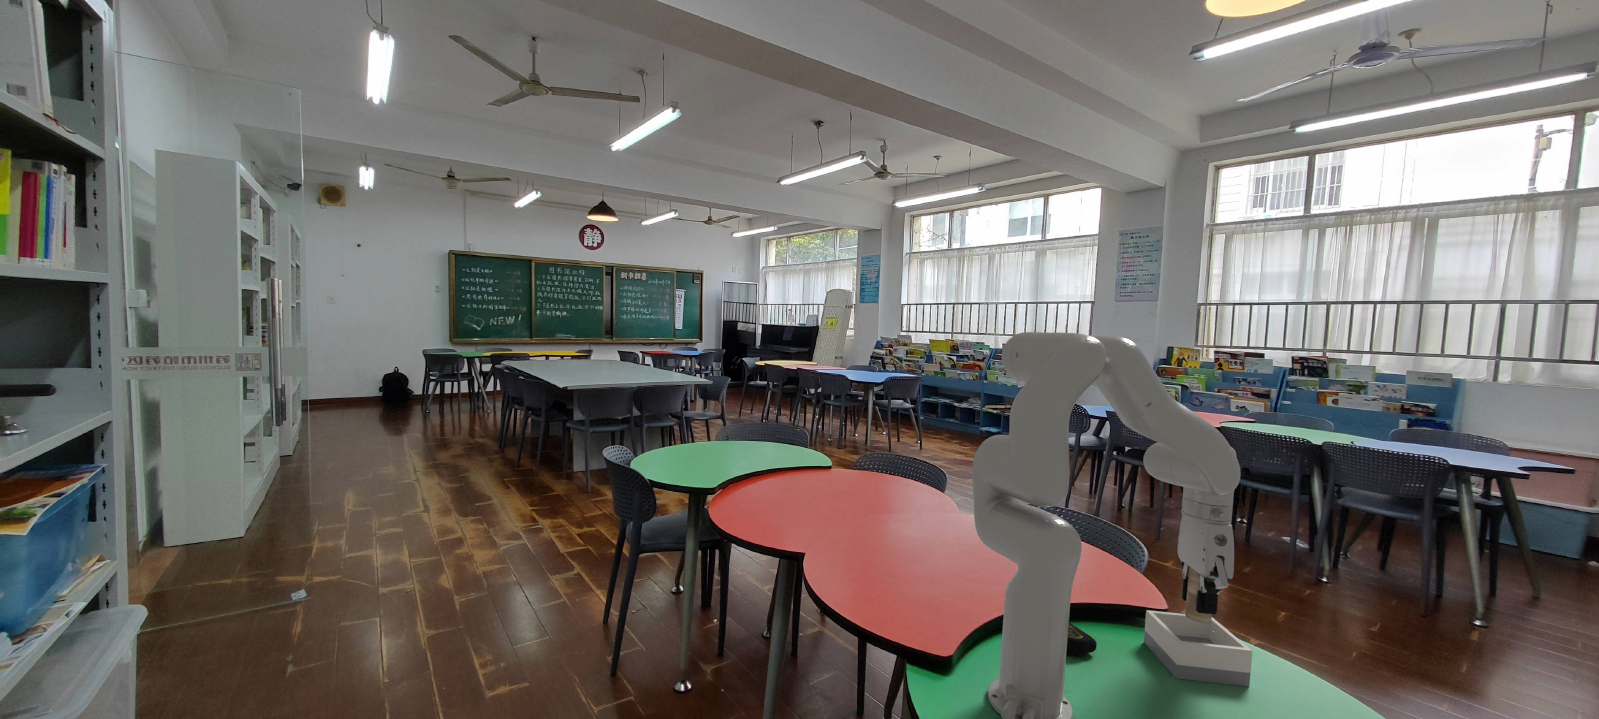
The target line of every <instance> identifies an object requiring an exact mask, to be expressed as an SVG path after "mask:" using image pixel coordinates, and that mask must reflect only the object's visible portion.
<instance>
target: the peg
mask: <svg viewBox="0 0 1599 719" xmlns="http://www.w3.org/2000/svg"><path fill="white" fill-rule="evenodd" d="M1210 575H1214V572H1210ZM1209 582H1213V579H1207V584H1208V583H1209ZM1198 590H1200V574H1199V573H1198V572H1197V571H1195V570H1194V569H1193V568H1191V567H1190V566H1189V576H1188V587H1187V599H1186V601H1185V610H1184V611H1185V612H1184V614H1185V615H1186V616H1187V617H1188V618H1189V619H1191V620H1194V621H1197V622H1201V623H1211V618H1212V617H1213V614H1204V613H1198V612H1197V611H1196V604H1197V592H1198Z"/></svg>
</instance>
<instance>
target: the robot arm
mask: <svg viewBox="0 0 1599 719" xmlns="http://www.w3.org/2000/svg"><path fill="white" fill-rule="evenodd" d="M1001 361H1002V362H1001V363H1002V366H1003V369H1004V371H1005V372H1006V373H1007V374H1008V375H1009V376H1010V377H1011V378H1013V380H1016V381H1019V382H1024V385H1023V386H1022V388H1021V389H1020V390H1019V392H1018V393H1017V394H1016V396H1015V398H1014V399H1013V402H1012V405H1011V407H1010V412H1009V427H1008V428H1009V433H1008V434H995V435H992V436H990V437H988V438H986V439H985V440H984V441H982V442H981V444H980V445H979V447H978V448H977V450H976V452H975V455H974V458H973V463H972V491H973V492H972V496H973V498H972V499H973V516H974V528H975V531H976V534H977V536H978V538H979V540H980V541H981V542H982V544H983V545H984V546H986V547H987V548H989V550H992V551H993V552H995V553H997V554H999V555H1001V556H1003V557H1005V558H1006V559H1008V560H1010V561H1011V562H1013V563H1014V564H1016V565H1017V571H1016V573H1015V574H1014V576H1013V577H1012V578H1011V579H1010V581H1009V582H1008V584H1007V586H1006V588H1005V593H1004V603H1003V605H1004V606H1003V617H1002V618H1003V620H1002V636H1001V649H1000V665H999V676H998V678H995V679H994V680H993V681H991V683H989V684H990V685H989V686H988V693H987V698H988V701H989V703H990V706H992V708H993V709H994V710H995V711H996V713H997V714H998V715H1000V716H1001V718H1002V719H1073V718H1074V710H1073V707H1072V705H1071V703H1070V701H1069V700H1068V698H1066V696H1065V695H1064V689H1065V676H1066V662H1067V653H1066V651H1067V638H1068V624H1069V623H1070V621H1069V620H1070V610H1071V609H1070V607H1071V600H1072V599H1071V598H1072V592H1073V586H1074V582H1075V577H1076V573H1077V570H1078V567H1079V564H1080V561H1081V557H1082V551H1083V545H1082V539H1081V537H1080V534H1079V533H1078V531H1077V530H1076V529H1075V528H1074V526H1073V525H1071V523H1069V522H1068V521H1067V520H1065V519H1064V518H1062V517H1060V516H1058V515H1057V514H1054V513H1051V512H1048V511H1046V510H1044V509H1042V508H1052V507H1053V508H1054V507H1057V506H1058V505H1059V506H1060V505H1061V503H1063V502H1064V501H1065V499H1066V498H1067V496H1068V492H1069V488H1070V487H1069V486H1070V449H1069V446H1070V444H1069V443H1070V442H1069V440H1070V439H1069V438H1070V437H1069V436H1070V435H1069V433H1070V431H1069V428H1070V419H1071V418H1070V417H1071V415H1072V412H1073V408H1074V406H1075V405H1076V403H1077V402H1078V400H1079V399H1080V398H1081V396H1082V395H1083V394H1084V393H1085V392H1086V391H1087V390H1088V388H1090V387H1091V386H1095V387H1097V388H1098V389H1099V391H1100V392H1101V394H1102V395H1103V396H1104V398H1105V399H1106V401H1107V402H1108V403H1109V405H1110V406H1111V408H1112V409H1113V411H1114V412H1115V413H1116V415H1117V417H1118V419H1120V422H1122V424H1123V425H1124V426H1126V427H1127V428H1128V429H1130V430H1132V431H1134V432H1136V433H1137V434H1139V435H1141V436H1143V437H1145V438H1148V439H1150V440H1152V441H1154V442H1155V443H1153V444H1152V445H1150V446H1148V448H1146V451H1145V452H1144V455H1143V466H1144V469H1145V471H1146V472H1147V474H1149V475H1150V476H1151V477H1153V478H1154V479H1157V481H1158V480H1159V481H1161V482H1162V483H1163V482H1164V483H1168V484H1171V485H1175V486H1179V487H1182V488H1183V491H1182V501H1181V502H1182V503H1181V514H1182V515H1181V520H1180V525H1179V529H1178V530H1179V531H1178V539H1177V555H1178V558H1179V560H1180V562H1181V567H1182V574H1181V576H1182V578H1183V581H1182V592H1181V594H1182V595H1181V599H1182V600H1183V601H1185V602H1186V599H1187V587H1188V576H1189V566H1190V567H1191V568H1193V569H1194V570H1195V571H1197V572H1198V573H1199V574H1200V590H1198V592H1197V604H1196V611H1197V612H1198V613H1204V614H1212V615H1216V614H1217V613H1218V601H1219V600H1218V599H1219V595H1220V594H1221V591H1222V590H1224V589H1227V588H1229V582H1228V580H1232V579H1233V576H1234V571H1235V570H1234V569H1235V568H1234V567H1235V541H1234V540H1235V538H1234V537H1235V536H1234V529H1233V525H1232V517H1233V508H1234V507H1233V506H1234V493H1235V489H1237V487H1238V485H1239V484H1240V481H1241V473H1242V472H1241V467H1240V463H1239V460H1238V458H1237V457H1238V456H1237V452H1236V450H1235V449H1234V448H1233V447H1232V446H1231V445H1230V443H1229V442H1228V440H1227V439H1226V437H1225V436H1224V435H1223V433H1222V432H1220V431H1219V430H1218V429H1217V428H1216V427H1215V426H1214V425H1213V424H1211V423H1209V422H1208V421H1207V420H1206V419H1204V418H1203V417H1202V416H1200V415H1198V414H1197V413H1195V412H1194V411H1193V410H1191V409H1189V408H1188V407H1187V406H1185V405H1184V404H1183V403H1180V402H1179V401H1177V400H1175V399H1174V398H1173V397H1172V396H1171V394H1170V393H1169V392H1168V390H1167V388H1166V386H1164V384H1163V382H1162V380H1161V379H1160V378H1159V376H1158V374H1157V373H1156V371H1155V369H1154V368H1153V367H1152V364H1151V363H1150V361H1149V360H1148V358H1147V357H1146V356H1145V354H1144V352H1143V350H1142V349H1141V348H1140V347H1139V345H1138V344H1137V343H1136V342H1134V341H1132V340H1131V339H1129V338H1125V337H1121V336H1110V335H1109V336H1107V335H1088V334H1084V333H1077V332H1076V333H1075V332H1041V331H1040V332H1039V331H1038V332H1037V331H1030V332H1029V331H1023V332H1020V333H1016V334H1015V335H1012V337H1010V338H1009V339H1008V340H1007V341H1006V343H1005V344H1004V346H1003V348H1002V351H1001ZM1039 507H1042V508H1039ZM1210 572H1214V575H1210ZM1207 579H1213V582H1209V583H1208V584H1207Z"/></svg>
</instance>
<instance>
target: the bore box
mask: <svg viewBox="0 0 1599 719" xmlns="http://www.w3.org/2000/svg"><path fill="white" fill-rule="evenodd" d="M1145 611H1146V612H1145V621H1144V635H1143V643H1144V644H1145V645H1146V647H1147V648H1148V649H1149V650H1150V651H1151V653H1153V654H1154V655H1155V657H1156V658H1157V659H1158V660H1159V661H1160V662H1161V664H1162V665H1164V667H1165V668H1166V669H1167V670H1168V671H1169V673H1170V674H1171V675H1172V676H1173V677H1174V678H1175V679H1177V680H1187V681H1193V682H1194V681H1197V682H1204V683H1213V684H1222V685H1231V686H1241V687H1246V688H1247V687H1248V688H1249V687H1250V682H1251V672H1252V671H1251V670H1252V662H1253V661H1252V660H1253V659H1252V658H1253V650H1252V649H1251V648H1250V647H1249V646H1247V645H1246V643H1244V642H1243V641H1241V639H1239V638H1238V637H1236V636H1235V635H1234V634H1233V633H1232V632H1231V631H1229V630H1228V629H1227V628H1226V627H1225V626H1224V625H1222V624H1221V623H1220V622H1219V621H1217V619H1215V618H1214V617H1213V616H1212V618H1211V623H1201V622H1197V621H1194V620H1191V619H1189V618H1188V617H1187V616H1186V615H1185V613H1176V612H1168V611H1158V610H1147V609H1146V610H1145ZM1213 631H1214V632H1213Z"/></svg>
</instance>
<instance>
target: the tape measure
mask: <svg viewBox="0 0 1599 719" xmlns="http://www.w3.org/2000/svg"><path fill="white" fill-rule="evenodd" d="M1097 646H1098V644H1097V640H1096V639H1095V638H1093V637H1092V636H1090V635H1089V634H1088V633H1086V632H1085V631H1083V630H1082V629H1081V628H1079V627H1077V626H1075V625H1074V624H1073V623H1071V622H1069V624H1068V638H1067V651H1066V654H1068V655H1071V656H1080V657H1081V656H1085V655H1087V654H1091V653H1094V652H1095V651H1096V650H1097Z"/></svg>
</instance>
